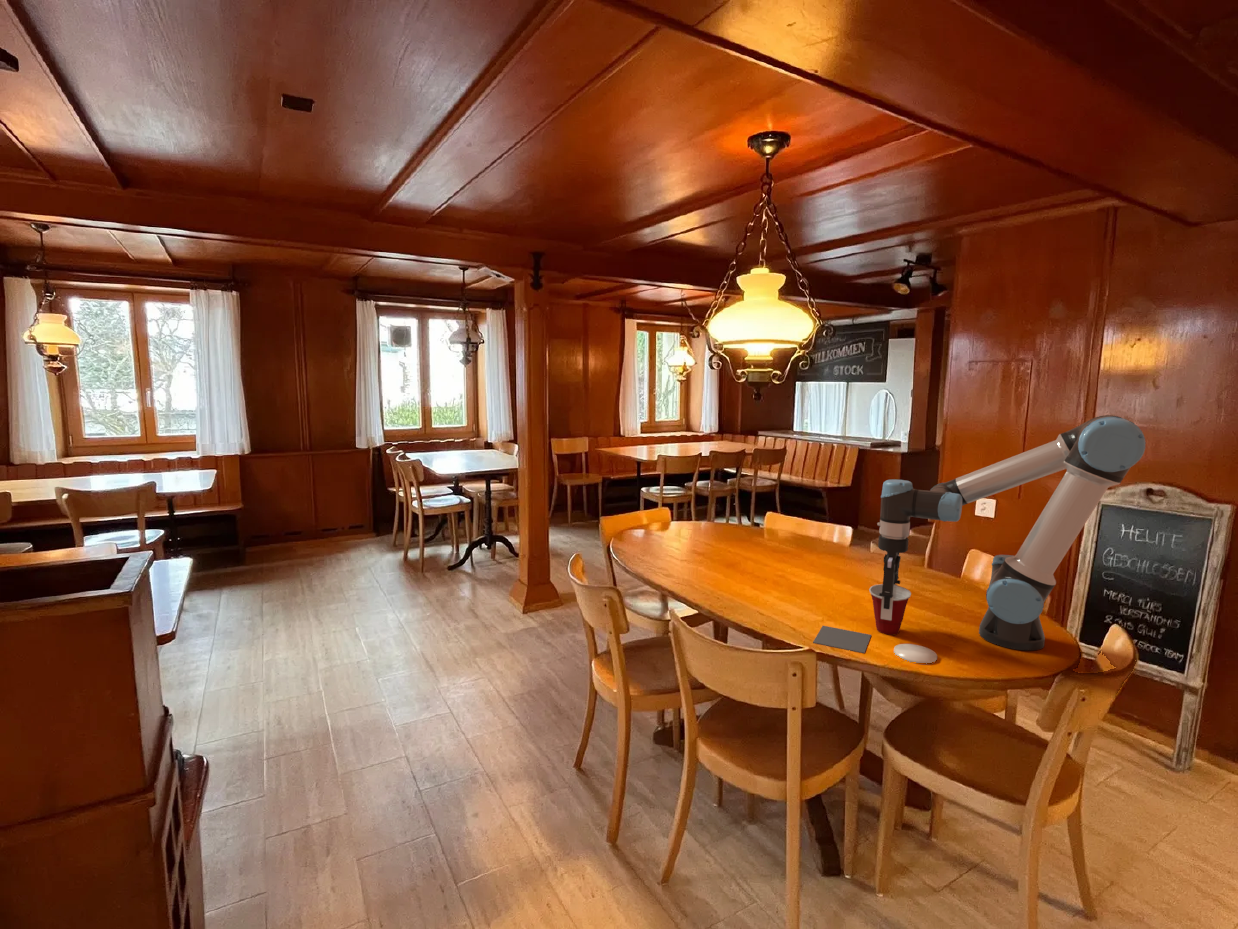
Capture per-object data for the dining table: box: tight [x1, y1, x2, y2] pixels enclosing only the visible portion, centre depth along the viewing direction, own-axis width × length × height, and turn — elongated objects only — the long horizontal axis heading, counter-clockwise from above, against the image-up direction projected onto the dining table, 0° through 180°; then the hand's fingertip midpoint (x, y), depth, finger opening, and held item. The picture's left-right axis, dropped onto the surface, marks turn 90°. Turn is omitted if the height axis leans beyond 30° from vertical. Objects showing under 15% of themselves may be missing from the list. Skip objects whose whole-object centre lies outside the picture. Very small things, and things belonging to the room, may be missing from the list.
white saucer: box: [893, 643, 938, 665], centre depth 159 cm, size 10×10×1 cm
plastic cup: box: [868, 583, 912, 636], centre depth 173 cm, size 11×11×12 cm
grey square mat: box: [812, 625, 872, 655], centre depth 169 cm, size 13×13×1 cm
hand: (888, 612), depth 173 cm, fingers closed on plastic cup, 11 cm apart
